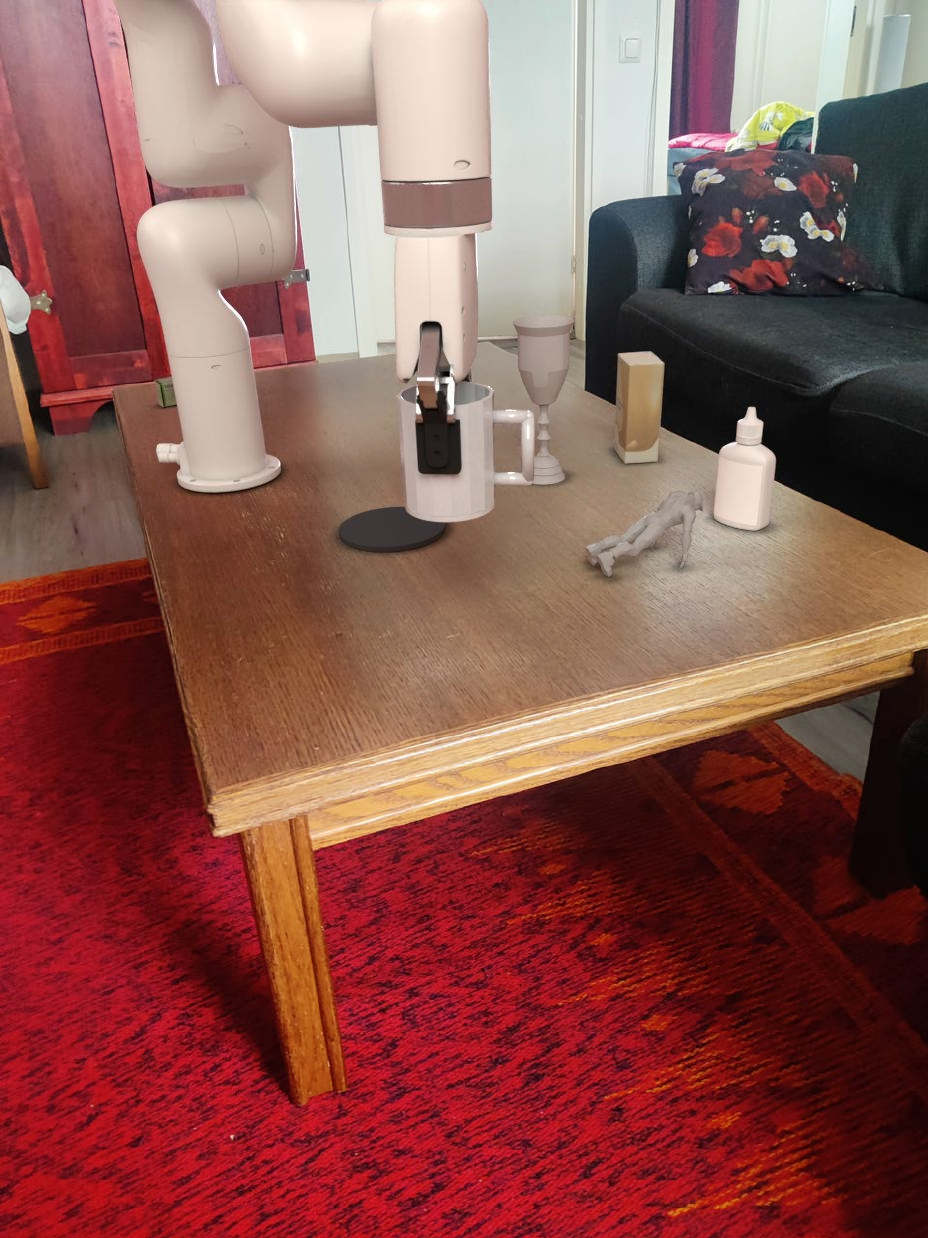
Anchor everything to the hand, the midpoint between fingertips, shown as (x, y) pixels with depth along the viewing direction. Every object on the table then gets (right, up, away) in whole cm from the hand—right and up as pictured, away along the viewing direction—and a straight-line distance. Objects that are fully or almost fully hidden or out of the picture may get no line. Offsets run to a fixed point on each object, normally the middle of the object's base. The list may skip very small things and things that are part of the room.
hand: (447, 453), depth 74 cm
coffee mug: (+2, -4, +2) cm, 4 cm away
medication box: (-42, +22, +80) cm, 93 cm away
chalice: (+11, +4, +39) cm, 41 cm away
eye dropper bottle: (+30, -3, +24) cm, 39 cm away
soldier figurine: (+19, -8, +17) cm, 26 cm away
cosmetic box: (+23, +7, +45) cm, 51 cm away
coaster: (-6, -4, +26) cm, 27 cm away
